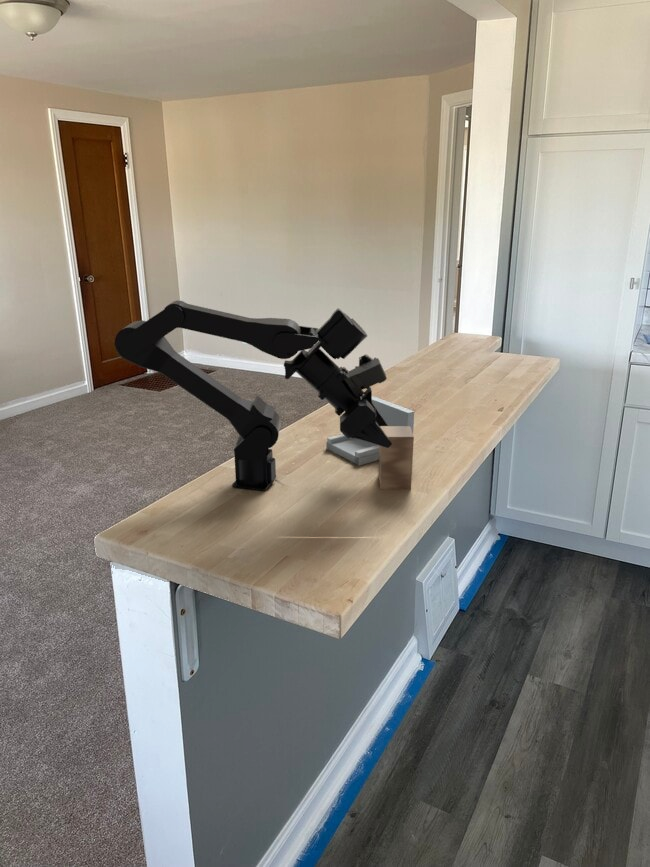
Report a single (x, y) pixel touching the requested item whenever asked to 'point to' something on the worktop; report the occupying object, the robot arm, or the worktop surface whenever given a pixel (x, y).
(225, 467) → the worktop surface
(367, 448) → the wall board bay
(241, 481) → the robot arm
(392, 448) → the walnut cabinet block
